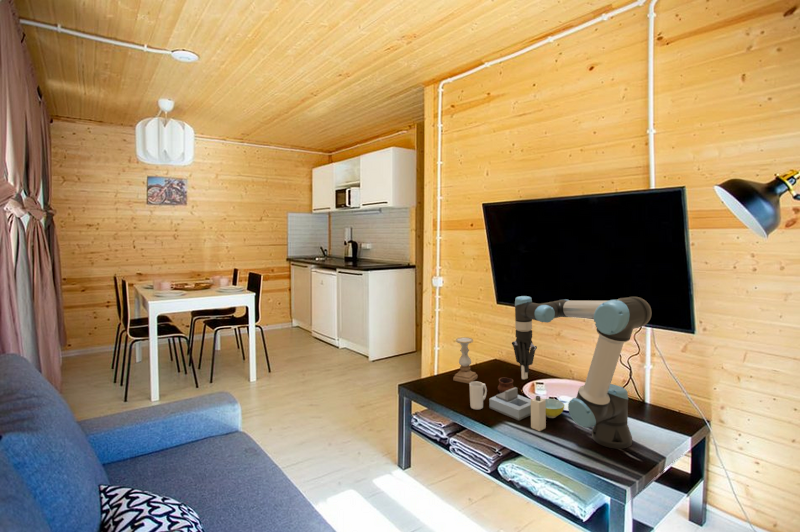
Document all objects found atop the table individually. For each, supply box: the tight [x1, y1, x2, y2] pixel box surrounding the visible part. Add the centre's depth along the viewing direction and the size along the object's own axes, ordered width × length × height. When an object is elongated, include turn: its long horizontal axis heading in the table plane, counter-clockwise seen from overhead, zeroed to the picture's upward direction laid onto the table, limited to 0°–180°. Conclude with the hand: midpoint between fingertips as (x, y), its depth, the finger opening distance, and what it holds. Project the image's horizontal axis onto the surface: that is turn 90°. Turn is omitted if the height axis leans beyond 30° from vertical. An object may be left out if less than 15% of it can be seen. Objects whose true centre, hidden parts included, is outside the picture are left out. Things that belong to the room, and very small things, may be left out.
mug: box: [468, 380, 488, 410], centre depth 220 cm, size 10×7×12 cm, turn 120°
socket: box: [488, 394, 531, 421], centre depth 214 cm, size 18×14×5 cm
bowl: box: [543, 398, 565, 419], centre depth 206 cm, size 11×12×6 cm
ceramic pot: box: [497, 376, 524, 394], centre depth 237 cm, size 18×18×7 cm
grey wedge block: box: [495, 386, 519, 402], centre depth 217 cm, size 8×8×5 cm
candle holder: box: [452, 336, 479, 384], centre depth 257 cm, size 11×11×24 cm
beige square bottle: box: [530, 395, 547, 432], centre depth 195 cm, size 4×4×14 cm
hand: (524, 378), depth 207 cm, fingers closed
